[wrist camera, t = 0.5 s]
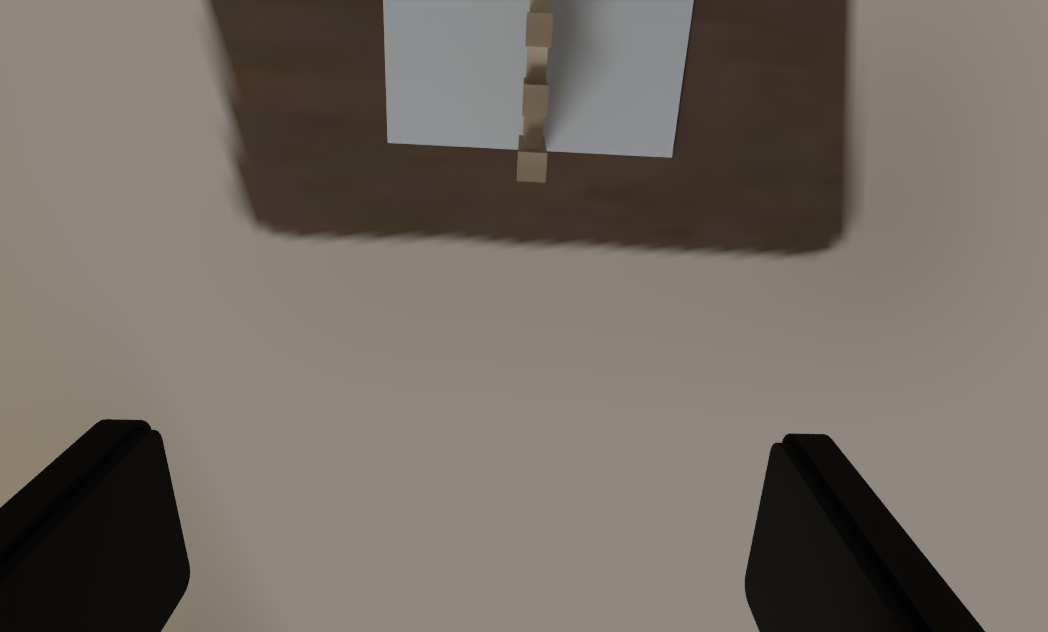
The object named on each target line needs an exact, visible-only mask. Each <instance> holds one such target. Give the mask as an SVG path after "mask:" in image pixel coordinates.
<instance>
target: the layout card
mask: <svg viewBox="0 0 1048 632" xmlns="http://www.w3.org/2000/svg"><path fill="white" fill-rule="evenodd" d="M693 2H694V0H551V5H550V14H553V27H552V43H551V48H548V55H547V71H546V81H547V83H548V85H549V91H548V107H547V117H544V121H543V136H544V139H545V144H546V149H547V151H556V152H575V153H594V154H613V155H633V156H652V157H671V158H672V153H673V145H674V138H675V131H676V124H677V117H678V110H679V102H680V95H681V88H682V81H683V74H684V67H685V59H686V52H687V45H688V38H689V31H690V24H691V16H692V9H693ZM529 6H530V0H383V9H384V41H385V72H386V104H387V136H388V143H402V144H421V145H440V146H459V147H479V148H498V149H517V150H518V144H519V135H523V128H524V116H522V104H523V83H524V77H526V67H527V46H526V45H525V41H526V20H527V12H529Z"/></svg>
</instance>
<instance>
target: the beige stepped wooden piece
mask: <svg viewBox="0 0 1048 632" xmlns="http://www.w3.org/2000/svg"><path fill="white" fill-rule="evenodd" d="M550 5H551V0H530V6H529V12H527V20H526V41H525V45H526V46H527V67H526V77H524V83H523V104H522V116H524V128H523V135H519V144H518V165H517V181H526V182H546V166H547V149H546V144H545V139H544V136H543V121H544V117H547V107H548V91H549V85H548V83H547V81H546V71H547V55H548V48H551V43H552V27H553V14H550Z"/></svg>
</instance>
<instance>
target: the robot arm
mask: <svg viewBox="0 0 1048 632" xmlns="http://www.w3.org/2000/svg"><path fill="white" fill-rule="evenodd" d="M189 578H190V566H189V561H188V557H187V552H186V547H185V542H184V538H183V533H182V528H181V524H180V519H179V515H178V510H177V505H176V500H175V496H174V491H173V486H172V482H171V477H170V472H169V468H168V463H167V458H166V455H165V450H164V445H163V440H162V437H161V435H160V433H159V432H158V431H156V430H151V427H150V426H149V424H148V423H147V422H145V421H143V420H112V419H107V420H101V421H99V422H98V423H96V424H95V425H94V426H93V427H92V428H91V429H89V430H88V431H87V432H86V433H85V434H84V435H83V436H81V437H80V438H79V439H78V440H77V441H76V442H75V443H73V444H72V445H71V446H70V447H69V448H68V449H67V450H66V451H64V452H63V453H62V454H61V455H60V456H59V457H57V458H56V459H55V460H54V461H53V462H52V463H51V464H50V465H48V466H47V467H46V468H45V469H44V470H43V471H42V472H41V473H39V474H38V475H37V476H36V477H35V478H34V479H32V480H31V481H30V482H29V483H28V484H27V485H26V486H25V487H23V488H22V489H21V490H20V491H19V492H18V493H17V494H15V495H14V496H13V497H12V498H11V499H10V500H9V501H8V502H7V503H5V504H4V505H3V506H2V507H1V508H0V632H161V631H162V629H163V627H164V625H165V624H166V622H167V621H168V619H169V618H170V616H171V614H172V613H173V611H174V610H175V608H176V606H177V605H178V603H179V602H180V600H181V598H182V597H183V595H184V593H185V591H186V589H187V586H188V583H189ZM745 592H746V597H747V601H748V604H749V607H750V609H751V612H752V614H753V617H754V619H755V621H756V624H757V626H758V629H759V631H760V632H985V631H984V630H983V628H982V627H981V626H980V625H979V623H978V622H977V621H976V620H975V618H974V617H973V616H972V615H971V613H970V612H969V611H968V610H967V608H966V607H965V606H964V605H963V603H962V602H961V601H960V600H959V598H958V597H957V596H956V595H955V593H954V592H953V591H952V589H951V588H950V587H949V586H948V584H947V583H946V582H945V581H944V579H943V578H942V577H941V576H940V574H939V573H938V572H937V571H936V569H935V568H934V567H933V566H932V565H931V563H930V562H929V561H928V559H927V558H926V557H925V556H924V554H923V553H922V552H921V551H920V549H919V548H918V547H917V546H916V544H915V543H914V542H913V541H912V539H911V538H910V537H909V535H908V534H907V533H906V532H905V530H904V529H903V528H902V527H901V525H900V524H899V523H898V522H897V520H896V519H895V518H894V517H893V515H892V514H891V513H890V512H889V511H888V509H887V508H886V507H885V505H884V504H883V503H882V502H881V500H880V499H879V498H878V497H877V495H876V494H875V493H874V492H873V490H872V489H871V488H870V487H869V485H868V484H867V483H866V481H865V480H864V479H863V478H862V476H861V475H860V474H859V473H858V471H857V470H856V469H855V468H854V466H853V465H852V464H851V463H850V461H849V460H848V459H847V458H846V456H845V455H844V454H843V453H842V451H841V450H840V449H839V448H838V446H837V445H836V444H835V443H834V441H833V440H832V439H831V438H830V437H829V436H828V435H824V434H788V435H785V437H784V439H783V441H782V443H775V444H773V446H772V448H771V451H770V456H769V460H768V466H767V470H766V475H765V480H764V485H763V490H762V495H761V500H760V506H759V510H758V516H757V520H756V525H755V530H754V535H753V541H752V545H751V551H750V555H749V560H748V565H747V570H746V575H745Z"/></svg>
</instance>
